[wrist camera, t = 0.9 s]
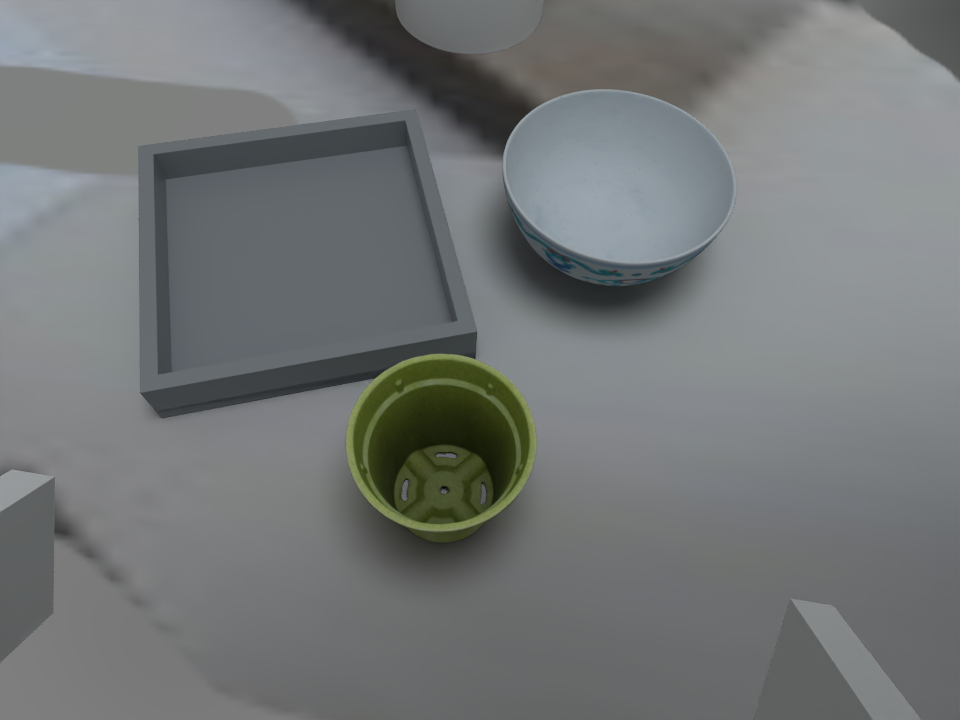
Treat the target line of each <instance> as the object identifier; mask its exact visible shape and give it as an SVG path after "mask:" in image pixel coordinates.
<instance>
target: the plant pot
mask: <svg viewBox="0 0 960 720" xmlns="http://www.w3.org/2000/svg"><path fill="white" fill-rule="evenodd" d="M536 447H537V438H536V428H535V423H534V419H533V416H532V414H531V411H530V409H529V407H528V404H527V403H526V401H525V399H524V397H523V395H522V394H521V393H520V391H519V390H518V389H517V387H516V386H515V385H514V384H513V383H512V382H511V381H510V380H509V379H508V378H507V377H506V376H504V375H503V374H502V373H500V372H499V371H497V370H496V369H494V368H492V367H491V366H489V365H487V364H485V363H483V362H480V361H478V360H475V359H473V358H470V357H465V356H461V355H454V354H430V355H424V356H419V357H414V358H411V359H408V360H405V361H402V362H400V363H398V364H397V365H395V366H393V367H391V368H389V369H388V370H386V371H384V372H383V373H381V374H380V375H379V376H378V377H376V378H375V379H374V380H373V381H372V382H371V383H370V384H369V385H368V386H367V387H366V388H365V390H364V391H363V392H362V394H361V395H360V397H359V398H358V400H357V402H356V403H355V405H354V407H353V410H352V412H351V415H350V418H349V421H348V426H347V432H346V453H347V460H348V464H349V468H350V471H351V474H352V476H353V479H354V481H355V483H356V485H357V487H358V489H359V490H360V492H361V493H362V495H363V496H364V497H365V498H366V500H367V501H368V502H369V503H370V504H371V505H372V506H373V507H374V508H375V509H376V510H377V511H378V512H380V513H381V514H382V515H384V516H385V517H386V518H388V519H390V520H391V521H393V522H395V523H397V524H399V525H402V526H404V527H406V528H407V529H409V530H410V531H411V532H412V533H414V534H415V535H417V536H418V537H420V538H423V539H425V540H428V541H432V542H439V543H446V542H453V541H458V540H461V539H464V538H466V537H468V536H470V535H471V534H472V533H474V532H475V531H476V530H478V529H479V528H480V527H481V526H482V525H483V524H484V523H485V522H486V521H488V520H490V519H491V518H493V517H495V516H496V515H498V514H499V513H501V512H502V511H503V510H504V509H505V508H507V507H508V506H509V505H510V504H511V503H512V502H513V501H514V500H515V498H516V497H517V496H518V495H519V493H520V492H521V491H522V489H523V487H524V486H525V484H526V482H527V480H528V478H529V476H530V474H531V471H532V468H533V465H534V460H535V455H536ZM438 452H453V453H456V454H457V456H458V457H457V458H448V457H436V456H435V455H436V453H438ZM406 479H408V480H409V485H408V490H407V496H408V498H407V501H404V500H402V497H401V491H402V484H403V482H404V480H406ZM482 482H483V483H484V484H485V486H486V490H487V497H486V502H485V503H484V504H480V497H481V486H482V485H481V483H482ZM442 486H444V487H445V486H446V487H447V488H448V489H449V492H448V493H447V494H442V493H440V488H441V487H442Z"/></svg>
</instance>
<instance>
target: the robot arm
mask: <svg viewBox="0 0 960 720" xmlns="http://www.w3.org/2000/svg"><path fill="white" fill-rule="evenodd" d="M54 501H55V477H53V476H47V475H41V474H35V473H29V472H23V471H17V470H10V471H9V472H7V473H5V474H3V475H2V476H0V663H1V661H3V660H4V659H5V658H6V657H7V656H8V655H9V654H10V653H11V652H12V651H13V650H14V649H15V648H16V647H18V645H20V644H21V643H22V642H23V641H24V640H25V639H26V638H27V637H28V636H29V635H30V634H31V633H32V632H33V631H34V630H35V629H37V628H38V627H39V626H40V625H41V624H42V623H43V622H44V621H45V620H46V619H47V618H48V617H49V616H50V615H51V614H53V592H54V590H53V589H54V586H53V585H54ZM753 720H921V719H920V718H919V716H918V715H917V714H916V712H915V711H914V710H913V708H912V707H911V706H910V705H909V703H908V702H907V701H906V699H905V698H904V697H903V695H902V694H901V693H900V692H899V690H898V689H897V688H896V686H895V685H894V684H893V682H892V681H891V680H890V679H889V677H888V676H887V675H886V673H885V672H884V671H883V670H882V668H881V667H880V666H879V664H878V663H877V662H876V660H875V659H874V658H873V657H872V655H871V654H870V653H869V651H868V650H867V649H866V647H865V646H864V645H863V644H862V642H861V641H860V640H859V638H858V637H857V636H856V634H855V633H854V632H853V631H852V629H851V628H850V627H849V625H848V624H847V623H846V621H845V620H844V619H843V618H842V616H841V615H840V614H839V612H838V611H837V610H836V609H835V607H834V606H833V605H827V604H821V603H815V602H809V601H803V600H797V599H791V598H790V601H789V605H788V608H787V611H786V614H785V618H784V621H783V624H782V627H781V631H780V634H779V637H778V640H777V644H776V647H775V650H774V653H773V657H772V660H771V663H770V667H769V670H768V673H767V676H766V680H765V683H764V686H763V689H762V693H761V696H760V699H759V702H758V706H757V709H756V712H755V715H754V719H753Z"/></svg>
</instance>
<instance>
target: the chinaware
mask: <svg viewBox="0 0 960 720" xmlns="http://www.w3.org/2000/svg"><path fill="white" fill-rule="evenodd" d="M503 180H504V186H505V191H506V196H507V200H508V203H509V206H510V209H511V212H512V214H513V217H514V219H515V221H516V223H517V225H518V227H519V229H520V231H521V233H522V234H523V236H524V237H525V239H526V240H527V242H528V243H529V244H530V245H531V247H532V248H533V249H534V250H535V251H536V252H537V253H538V254H539V255H540V256H541V257H542V258H543V259H544V260H545V261H547V262H548V263H549V264H551V265H552V266H553V267H555V268H556V269H558V270H560V271H561V272H563V273H565V274H567V275H569V276H571V277H574V278H576V279H579V280H582V281H585V282H589V283H593V284H598V285H606V286H627V285H635V284H641V283H645V282H649V281H652V280H655V279H658V278H660V277H663V276H665V275H667V274H669V273H671V272H673V271H675V270H677V269H679V268H680V267H682V266H683V265H685V264H687V263H688V262H689V261H691V260H692V259H693V258H695V257H696V256H697V255H698V254H699V253H701V252H702V251H703V250H704V249H705V248H706V247H707V246H708V245H709V244H710V243H711V242H712V241H713V240H714V239H715V238H716V237H717V235H718V234H719V233H720V232H721V230H722V229H723V228H724V226H725V225H726V223H727V221H728V220H729V218H730V216H731V213H732V211H733V208H734V204H735V200H736V190H737V188H736V177H735V172H734V169H733V166H732V163H731V161H730V158H729V156H728V154H727V152H726V151H725V149H724V147H723V146H722V145H721V143H720V142H719V141H718V139H717V138H716V137H715V136H714V135H713V134H712V132H711V131H710V130H709V129H708V128H706V127H705V126H704V125H703V124H702V123H701V122H699V121H698V120H697V119H695V118H694V117H693V116H691V115H690V114H688V113H687V112H685V111H683V110H681V109H680V108H678V107H676V106H674V105H672V104H670V103H667V102H665V101H662V100H660V99H657V98H654V97H651V96H647V95H644V94H640V93H635V92H629V91H622V90H609V89H600V90H586V91H579V92H574V93H570V94H566V95H563V96H560V97H557V98H554V99H552V100H550V101H548V102H545V103H544V104H542V105H540V106H538V107H537V108H535V109H534V110H532V111H531V112H530V113H529V114H527V115H526V116H525V117H524V118H523V119H522V120H521V121H520V122H519V123H518V125H517V126H516V127H515V129H514V130H513V132H512V133H511V135H510V137H509V139H508V141H507V144H506V147H505V150H504V155H503Z"/></svg>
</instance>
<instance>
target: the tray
mask: <svg viewBox="0 0 960 720" xmlns="http://www.w3.org/2000/svg"><path fill="white" fill-rule="evenodd" d="M138 148H139V149H138V151H139V153H138V154H139V155H138V158H139V297H140V393H141V394H142V396H143V397H144V398H145V399H146V400H147V401H148V403H149V404H150V405H151V406H152V407H153V408H154V410H155V411H156V412H157V413H158V414H159V415H160V417H161V418H164V417H170V416H175V415H180V414H186V413H191V412H196V411H202V410H207V409H212V408H218V407H223V406H228V405H234V404H239V403H244V402H250V401H255V400H260V399H265V398H271V397H276V396H281V395H287V394H292V393H297V392H303V391H308V390H313V389H319V388H324V387H329V386H335V385H340V384H345V383H351V382H356V381H361V380H367V379H372V378H376V377H378V376H379V375H380V374H381V373H383V372H384V371H386V370H388V369H389V368H391V367H393V366H395V365H397V364H398V363H400V362H402V361H405V360H408V359H411V358H414V357H419V356H424V355H430V354H454V355H461V356H465V357H470V358H473V359H475V354H476V340H477V329H476V326H475V322H474V318H473V315H472V311H471V308H470V304H469V300H468V297H467V293H466V289H465V286H464V282H463V278H462V275H461V271H460V267H459V264H458V260H457V257H456V253H455V249H454V246H453V242H452V238H451V235H450V231H449V227H448V224H447V220H446V217H445V213H444V209H443V206H442V202H441V198H440V195H439V191H438V187H437V184H436V180H435V177H434V173H433V169H432V166H431V162H430V158H429V155H428V151H427V147H426V144H425V140H424V137H423V133H422V129H421V126H420V122H419V118H418V115H417V111H416V109H415V110H408V111H400V112H392V113H385V114H377V115H370V116H362V117H355V118H347V119H340V120H332V121H324V122H317V123H309V124H302V125H294V126H287V127H280V128H272V129H264V130H257V131H249V132H242V133H234V134H226V135H219V136H211V137H204V138H197V139H189V140H181V141H173V142H166V143H158V144H151V145H144V146H139V147H138Z"/></svg>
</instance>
